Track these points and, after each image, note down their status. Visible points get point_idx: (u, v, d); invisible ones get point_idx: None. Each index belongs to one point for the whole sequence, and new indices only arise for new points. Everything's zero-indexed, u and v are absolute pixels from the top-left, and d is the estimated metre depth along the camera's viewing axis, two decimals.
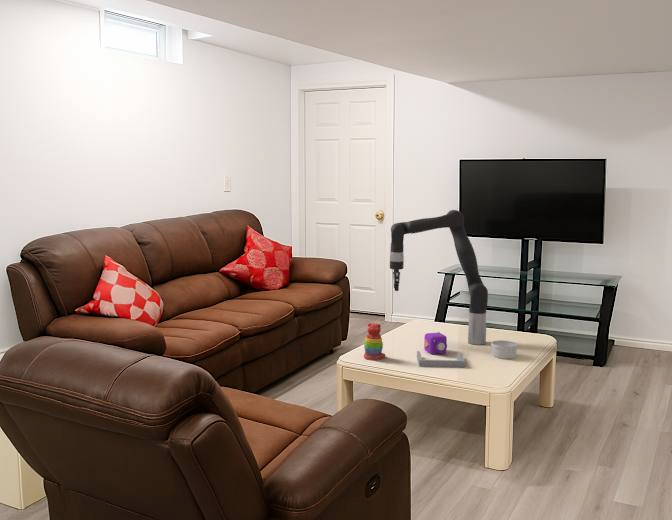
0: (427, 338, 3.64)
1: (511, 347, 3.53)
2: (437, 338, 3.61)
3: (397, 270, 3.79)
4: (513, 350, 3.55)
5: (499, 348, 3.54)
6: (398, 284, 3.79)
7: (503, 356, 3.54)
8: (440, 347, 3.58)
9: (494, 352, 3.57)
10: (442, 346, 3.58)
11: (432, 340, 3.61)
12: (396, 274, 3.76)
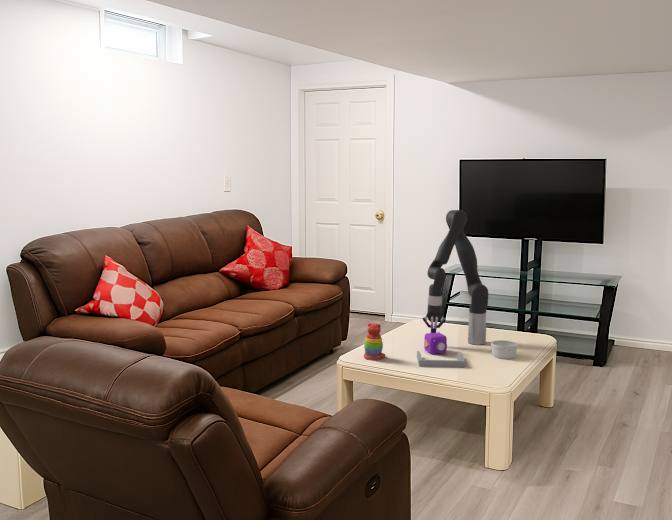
0: (427, 338, 3.64)
1: (511, 347, 3.53)
2: (437, 338, 3.61)
3: None
4: (513, 350, 3.55)
5: (499, 348, 3.54)
6: None
7: (503, 356, 3.54)
8: (440, 347, 3.58)
9: (494, 352, 3.57)
10: (442, 346, 3.58)
11: (432, 340, 3.61)
12: None
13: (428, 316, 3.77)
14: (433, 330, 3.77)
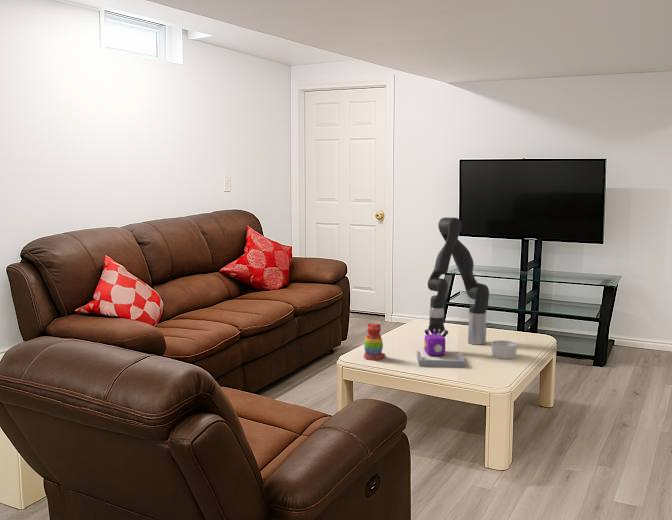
0: (426, 339, 3.62)
1: (511, 347, 3.53)
2: (435, 340, 3.58)
3: (443, 325, 3.68)
4: (513, 350, 3.55)
5: (499, 348, 3.54)
6: None
7: (503, 356, 3.54)
8: (437, 349, 3.55)
9: (494, 352, 3.57)
10: (439, 348, 3.55)
11: (429, 341, 3.58)
12: None
13: (430, 328, 3.67)
14: None
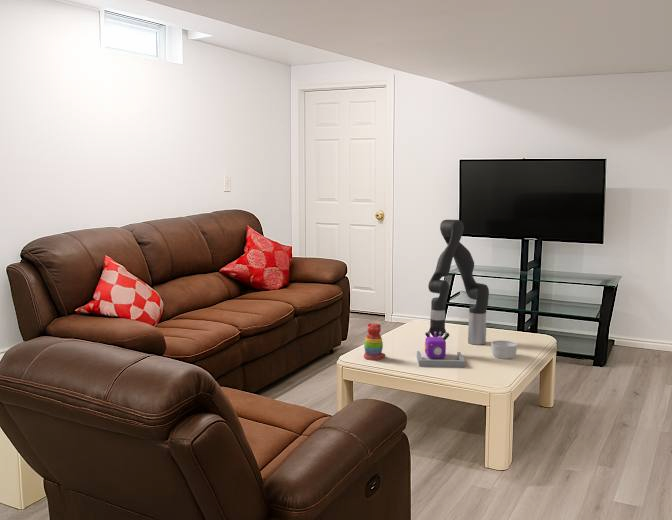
0: (426, 342, 3.57)
1: (511, 347, 3.53)
2: (435, 342, 3.52)
3: (444, 327, 3.62)
4: (513, 350, 3.55)
5: (499, 348, 3.54)
6: None
7: (503, 356, 3.54)
8: (436, 352, 3.49)
9: (494, 352, 3.57)
10: (438, 351, 3.49)
11: (429, 344, 3.53)
12: None
13: (431, 331, 3.61)
14: None
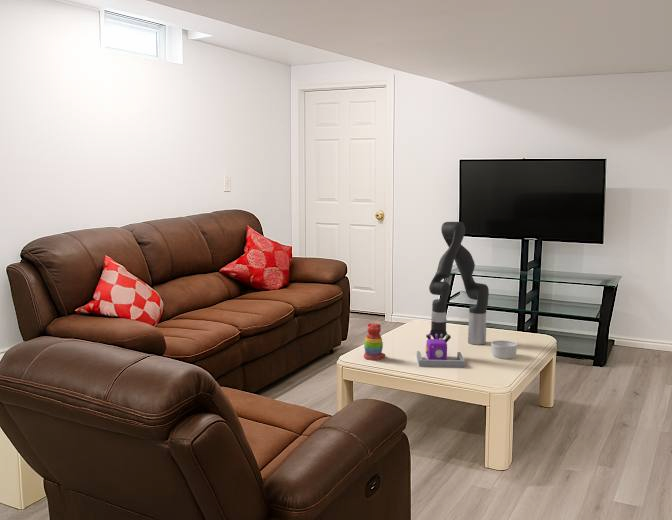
0: (427, 344, 3.52)
1: (511, 347, 3.53)
2: (436, 345, 3.48)
3: (445, 329, 3.58)
4: (513, 350, 3.55)
5: (499, 348, 3.54)
6: None
7: (503, 356, 3.54)
8: (437, 354, 3.45)
9: (494, 352, 3.57)
10: (439, 353, 3.45)
11: (430, 346, 3.48)
12: None
13: (432, 333, 3.57)
14: None
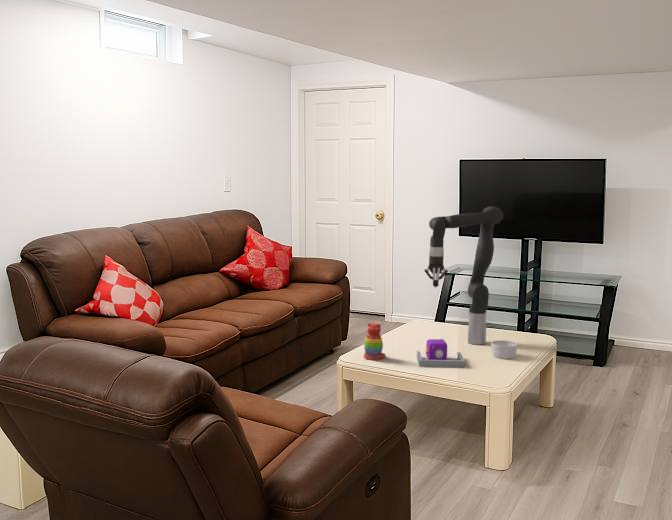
0: (427, 344, 3.52)
1: (511, 347, 3.53)
2: (436, 345, 3.48)
3: None
4: (513, 350, 3.55)
5: (499, 348, 3.54)
6: None
7: (503, 356, 3.54)
8: (437, 354, 3.45)
9: (494, 352, 3.57)
10: (439, 353, 3.45)
11: (430, 346, 3.48)
12: None
13: (430, 267, 3.75)
14: (435, 282, 3.75)
